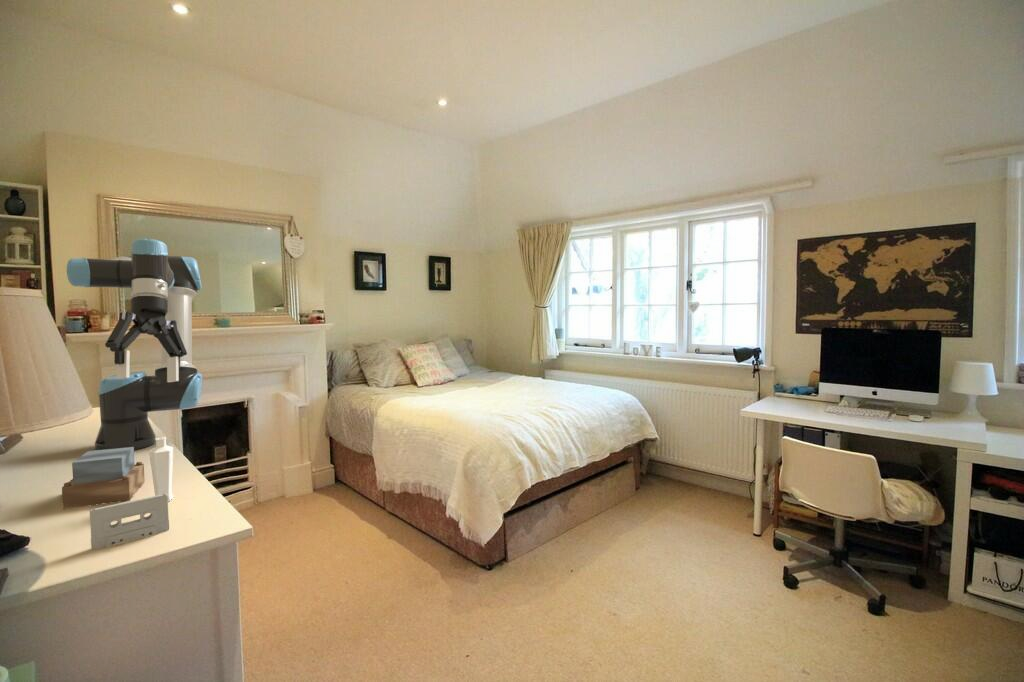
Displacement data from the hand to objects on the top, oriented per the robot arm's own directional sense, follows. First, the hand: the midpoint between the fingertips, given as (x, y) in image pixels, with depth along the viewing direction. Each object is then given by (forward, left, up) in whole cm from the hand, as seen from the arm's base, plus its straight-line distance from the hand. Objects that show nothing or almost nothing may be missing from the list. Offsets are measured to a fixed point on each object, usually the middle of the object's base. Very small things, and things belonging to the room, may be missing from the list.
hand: (149, 380), depth 118 cm
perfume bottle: (+12, +4, -27) cm, 30 cm away
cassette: (+31, +3, -27) cm, 42 cm away
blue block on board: (+3, -9, -27) cm, 28 cm away
